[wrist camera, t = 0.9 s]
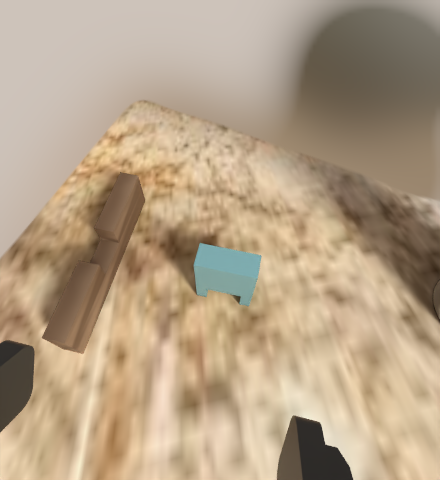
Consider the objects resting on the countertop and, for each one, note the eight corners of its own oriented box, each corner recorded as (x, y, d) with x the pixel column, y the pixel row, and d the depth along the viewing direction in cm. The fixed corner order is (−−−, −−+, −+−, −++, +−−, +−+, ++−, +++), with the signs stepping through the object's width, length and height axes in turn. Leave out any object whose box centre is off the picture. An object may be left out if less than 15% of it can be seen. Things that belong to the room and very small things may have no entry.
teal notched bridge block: (252, 286, 38) (261, 255, 31) (248, 306, 37) (257, 278, 30) (201, 275, 39) (199, 243, 32) (196, 294, 38) (193, 265, 31)
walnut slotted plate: (145, 200, 44) (138, 175, 40) (83, 353, 34) (64, 343, 30) (129, 197, 44) (120, 172, 40) (63, 348, 35) (41, 337, 30)
